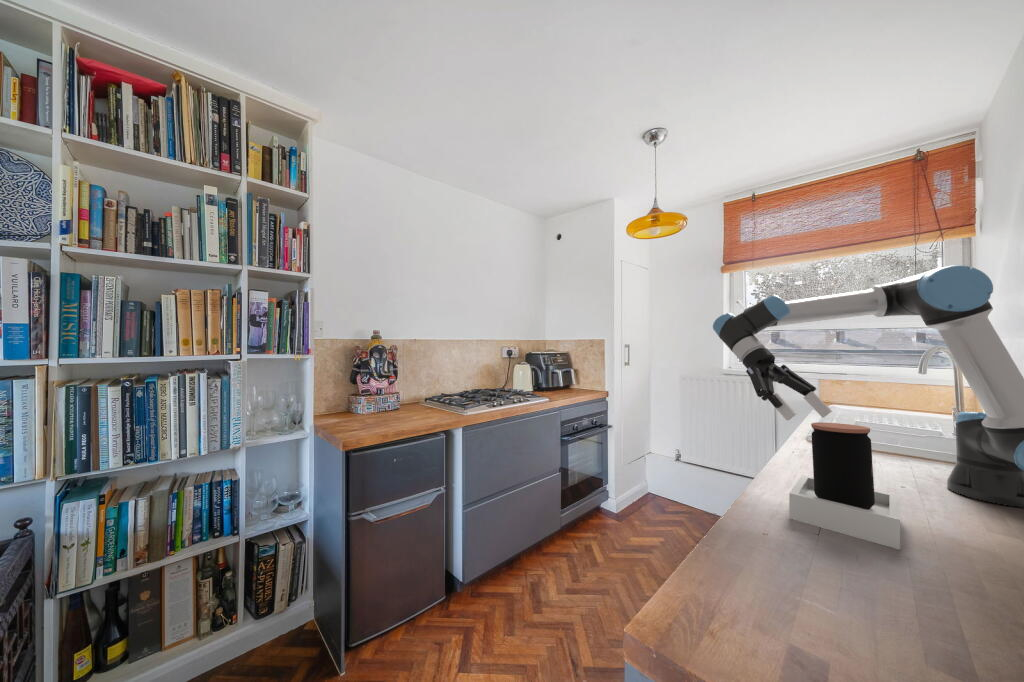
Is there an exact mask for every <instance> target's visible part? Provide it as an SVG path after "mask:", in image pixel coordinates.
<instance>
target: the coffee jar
mask: <svg viewBox="0 0 1024 682" xmlns="http://www.w3.org/2000/svg"><path fill="white" fill-rule="evenodd" d="M810 426H811V428H812V429H813V431H812V432H811V449H812V471H813V474H812V475H813V477H814V492H815V495H816V496H817V497H818V498H820V499H824V500H829V501H833V502H837V503H841V504H845V505H850V506H854V507H858V508H862V509H866V510H868V509H871V507H872V506H873V505H874V504H875V497H874V490H875V485H874V484H875V483H874V482H875V481H874V466H873V453H872V451H873V450H872V439H871V438H870V437H869V436H868V435H869V434H870V433H871V428H870V427H867V426H864V425H859V424H858V425H857V424H849V423H839V422H838V423H837V422H812V423H810Z"/></svg>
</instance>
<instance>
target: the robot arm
mask: <svg viewBox="0 0 1024 682" xmlns="http://www.w3.org/2000/svg"><path fill="white" fill-rule="evenodd" d="M993 292H994V285H993V282H992V280H991V279H990V277H989V276H988V275H987V274H986V273H985V272H984V271H982V270H980V269H978V268H975V267H971V266H968V265H958V264H957V265H949V266H948V265H947V266H940V267H937V268H933V269H930V270H928V271H924V272H921V273H918V274H913V275H911V276H907V277H904V278H902V279H900V280H896V281H893V282H892V281H891V282H887V283H883V284H877V285H872V286H871V287H870V288H869V289H866V290H858V291H852V292H845V293H837V294H831V295H824V296H818V297H816V296H815V297H809V298H803V299H796V300H789V301H785V300H784V299H783V298H781V296H778V295H777V294H772V295H770V296H768V297H766V298H763V299H762V300H761V301H759V302H757V303H756V304H753V305H752V306H749V307H746V309H744V310H743V312H741V313H740V314H738V315H737V314H736V315H735V314H733V313H732V312H726V313H725V314H721V315H720V316H718V317H717V318H716V319H715V320H714V321H713V324H712V329H713V331H714V332H715V333H716V334H717V336H718V338H719V339H720V340H721V341H722V342H723V343H724V345H726V346H727V348H729V350H730V351H731V352H732V353H733V355H735V356H736V358H737V359H738V360H739V361H740V362H741V363H742V364H743V366H744V367H745V368H746V369H747V370H745V372H746V373H747V375H748V376H749V378H750V381H751V384H752V386H753V388H754V391H755V393H756V396H757V397H759V398H761V400H763V401H769V402H770V404H772V406H773V407H774V408H775V409H776V410H777V412H779V414H780V415H781V416H782V417H783V418H784V419H785V421H790V420H791V419H793V418H794V417H795V416H796V415H797V413H796V412H795V410H794V409H793V408H792V407H791V406H790V405H789V404H788V403H787V402H786V400H785V399H784V398H783V397H782V396H781V395H780V394H779V393H778V392H776V393H775V387H774V383H778V384H780V385H782V384H783V385H784V386H787V387H788V388H790V389H792V390H793V391H796V393H799V394H800V395H802V396H804V397H803V399H804V400H805V402H807V403H808V404H809V405H810V406H811V407H812V408H813V410H815V411H816V413H818V414H819V416H820V417H821V418H825V417H826V416H828V415H830V414H831V413H832V412H833V410H832V409H831V408H830V407H829V406H828V405H827V404H826V403H825V402H824V401H823V399H821V398H820V397H819V396H818V394H817V393H815V391H817V387H816V386H814V385H813V384H811V383H810V382H808V381H807V380H806V379H804V378H802V377H801V376H800V375H799V374H797V373H796V372H794V371H792V370H791V369H790V368H789V367H788V366H787V365H786V364H782V365H781V366H778V365H777V364H776V363H775V361H776V356H775V355H774V354H773V353H772V352H771V351H770V350H769V349H768V348H766V346H765V344H763V342H761V341H760V340H759V339H758V338H757V337H756V335H757V334H758V333H760V332H761V331H763V330H765V329H767V328H773V327H778V326H786V325H795V324H796V325H797V324H803V323H813V322H821V321H828V320H830V321H831V320H837V319H846V318H854V317H855V318H856V317H862V316H870V315H873V316H875V317H877V318H881V317H882V318H884V317H891V316H893V317H896V316H897V317H898V316H920V317H921V319H922V321H923V322H924V324H925V326H926V327H929V328H931V329H934V330H937V331H938V332H939V333H938V334H940V336H941V338H942V340H943V341H944V343H945V345H946V347H947V348H948V350H949V352H950V354H951V356H952V357H953V359H954V361H955V362H956V365H957V366H958V368H959V369H960V371H961V373H962V375H963V377H964V378H965V380H966V381H967V383H968V386H969V387H970V388H971V390H972V392H973V395H974V396H975V398H976V399H977V401H978V403H979V404H980V406H981V407H982V410H983V412H978V411H961V412H958V413H957V415H956V419H955V423H954V424H955V429H956V430H955V433H956V434H955V435H956V437H955V438H956V440H955V441H956V449H955V450H956V462H955V464H954V467H953V469H952V471H951V472H950V474H949V476H948V477H947V481H946V482H947V483H946V487H947V489H948V490H949V489H950V490H949V491H951V492H953V491H954V492H953V493H955V492H956V493H955V494H958V493H959V494H958V495H960V494H962V495H961V496H963V495H965V496H964V497H966V496H967V497H966V498H970V497H971V498H970V499H973V498H974V500H977V499H979V500H978V501H981V500H983V501H982V502H985V501H988V502H987V503H990V502H994V503H993V504H995V503H999V504H998V505H1000V504H1006V505H1011V506H1010V507H1014V506H1018V507H1017V508H1024V376H1023V374H1022V373H1021V371H1020V369H1019V368H1018V366H1017V365H1016V363H1015V361H1014V359H1013V357H1012V356H1011V354H1010V352H1009V351H1008V350H1007V348H1006V346H1005V344H1004V343H1003V340H1002V339H1001V338H1000V336H999V334H998V332H997V331H996V329H995V327H994V326H993V324H992V323H991V321H990V320H989V315H990V314H991V312H992V311H993V309H994V308H993V306H992V304H991V302H990V301H989V300H990V299H991V295H992V294H993ZM1006 505H1005V506H1006Z"/></svg>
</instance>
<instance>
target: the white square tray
mask: <svg viewBox="0 0 1024 682" xmlns="http://www.w3.org/2000/svg"><path fill="white" fill-rule="evenodd" d="M788 495H789V496H788V497H789V498H788V500H789V502H788V505H789V506H788V507H789V509H788V510H789V511H788V516H789V517H788V518H790V519H789V520H792V519H793V521H796V522H800V523H803V524H807V525H811V526H814V527H818V528H822V529H824V530H825V529H826V530H829V531H832V532H835V533H839V534H843V535H846V536H848V537H849V536H850V537H854V538H856V539H860V540H863V541H868V542H871V543H875V544H879V545H883V546H885V547H889V548H893V549H896V550H901V514H900V513H901V511H900V498H899V494H896V493H889V492H885V491H881V490H876V489H874V497H875V504H874V505H873V506H872V507H871V509H868V510H866V509H862V508H858V507H854V506H850V505H845V504H841V503H837V502H833V501H829V500H824V499H820V498H818V497H817V496H816V495H815V492H814V476H809V475H805V474H804V475H803V474H801V476H800V477H799V479H798V480H797V482H796V483H795V485H794V486H793V487H792V488H791V490H790V492H789V494H788Z"/></svg>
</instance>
